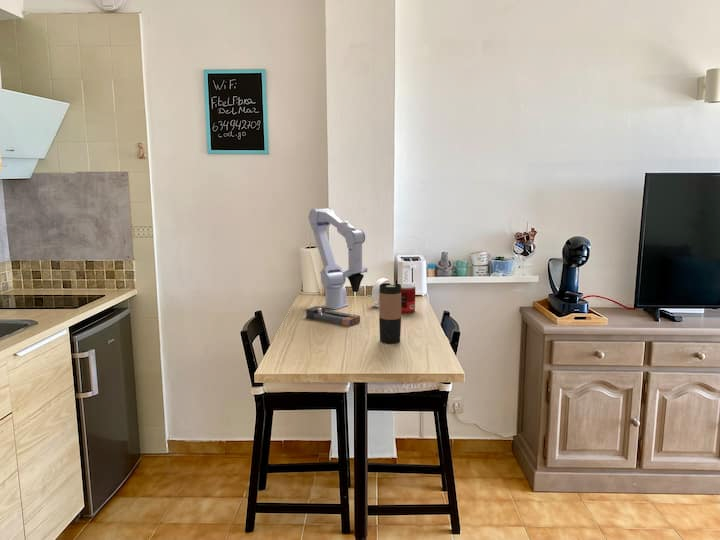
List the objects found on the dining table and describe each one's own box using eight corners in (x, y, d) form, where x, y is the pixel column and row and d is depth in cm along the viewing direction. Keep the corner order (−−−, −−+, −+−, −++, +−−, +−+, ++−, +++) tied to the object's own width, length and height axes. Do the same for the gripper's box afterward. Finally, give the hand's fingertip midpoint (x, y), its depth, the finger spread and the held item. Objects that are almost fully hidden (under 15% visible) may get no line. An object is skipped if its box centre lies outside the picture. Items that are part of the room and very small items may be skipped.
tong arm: (324, 317, 227) (324, 311, 226) (329, 316, 229) (329, 310, 229) (355, 323, 218) (355, 317, 217) (360, 322, 220) (360, 315, 220)
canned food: (415, 309, 242) (415, 284, 240) (415, 313, 234) (415, 287, 232) (397, 308, 243) (397, 283, 241) (396, 313, 235) (397, 287, 233)
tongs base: (306, 317, 227) (305, 308, 227) (317, 314, 233) (317, 305, 232) (349, 326, 215) (348, 316, 214) (359, 322, 220) (359, 313, 220)
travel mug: (386, 345, 191) (386, 288, 188) (375, 339, 198) (375, 284, 194) (405, 342, 194) (405, 285, 191) (393, 336, 201) (394, 282, 198)
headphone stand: (388, 306, 247) (388, 279, 245) (377, 308, 244) (377, 281, 242) (383, 304, 251) (383, 278, 249) (371, 305, 248) (371, 279, 246)
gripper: (352, 262, 222) (352, 295, 225) (373, 258, 234) (373, 289, 236) (338, 260, 226) (338, 293, 229) (359, 256, 238) (359, 287, 240)
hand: (355, 291), depth 233 cm, fingers closed
